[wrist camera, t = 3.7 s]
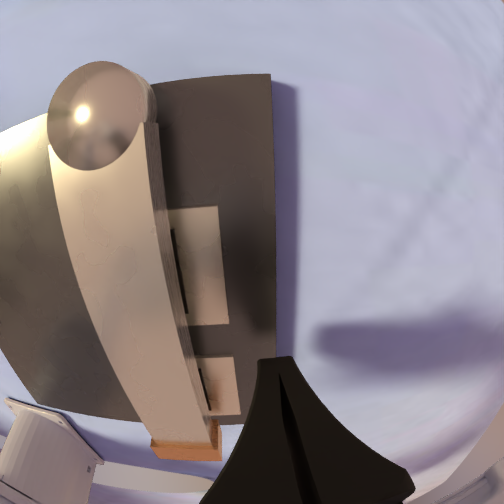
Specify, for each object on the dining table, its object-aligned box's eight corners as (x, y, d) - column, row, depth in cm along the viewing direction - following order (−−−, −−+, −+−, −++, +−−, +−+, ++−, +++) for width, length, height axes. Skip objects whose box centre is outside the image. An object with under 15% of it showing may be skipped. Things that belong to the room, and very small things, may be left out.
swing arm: (221, 432, 14) (222, 460, 12) (162, 431, 14) (158, 458, 12) (167, 61, 7) (149, 44, 5) (66, 87, 7) (32, 82, 5)
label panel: (272, 409, 16) (276, 433, 15) (42, 394, 16) (33, 411, 14) (266, 78, 9) (274, 68, 7) (-49, 164, 8) (-70, 171, 7)
